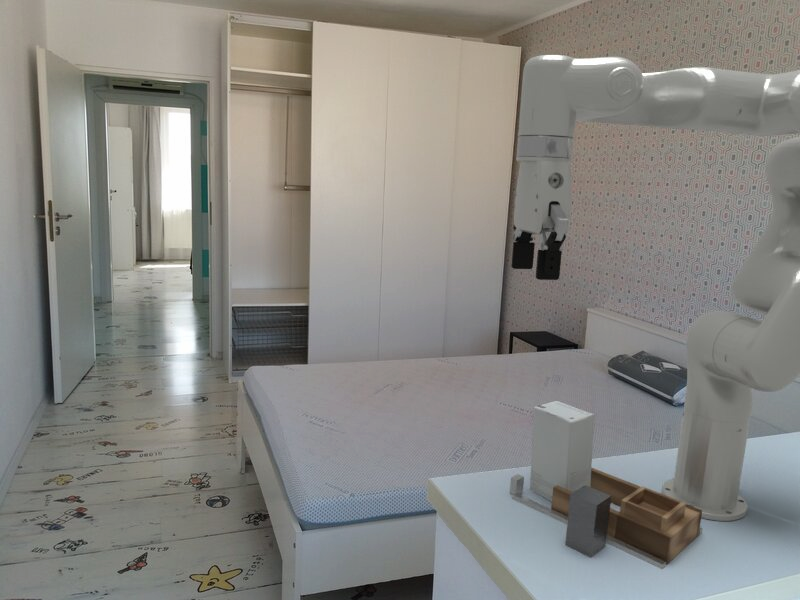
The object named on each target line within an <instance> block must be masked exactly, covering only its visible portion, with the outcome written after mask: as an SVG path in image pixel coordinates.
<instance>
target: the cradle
mask: <svg viewBox="0 0 800 600" xmlns="http://www.w3.org/2000/svg"><path fill="white" fill-rule="evenodd" d="M590 487H591V488H593V489H596V490H598V491H601V492H603V493H606V494H608V495H610V496H611V503H612V504H613V505H616V506H619V507H620V511H618V510H616V509H613V508H611V507H610V512H609V520H608V529H607V535H609V536H611V537H613V538H615V539H618V540H620V541H622V542H624V543H626V544H629V545H631V546H633V547H635V548H637V549H639V550H642V551H644V552H646V553H648V554H650V555H652V556H655V557H657V558H659V559H661V560H663V561H665V562H666V565H668V564H669V563H670V562H671V561H673V559H675V558H676V557H677V556H678V555H679V554H680V553H681V552H682V551H683V550H684V549H686V548H687V547H688V546H689V545H690V544H691V543H692V542H693V541H694V540H695V539H696V538H697V537H699V529H700V527H701V523H702V522H701V521H702V518H701V516H702V510H700V509H697V508H694V507H692V506H689V505H687V504H686V503H684V502H681V501H679V500H676V499H674V498H671V497H668V496H666V495H663V494H662V492H661V493H660V492H658V491H655V490H653V489H649V488H647V487H646V486H640V485H637V484H635V483H632V482H630V481H627V480H624V479H622V478H619V477H617V476H616V475H615V476H614V475H611V474H609V473H607V472H604V471H601V470H598V469H596V468H594V467H591V483H590ZM571 493H573V492H572V491H569V490H567V489H565V488H562V487H560V486H558V485H556V486H554V487H553V495H552V501H551V507H550V509H553V510H555V511H557V512H559V513H561V514H563V515H566V516H568V514H569V504H570V494H571ZM666 565H665V566H666Z"/></svg>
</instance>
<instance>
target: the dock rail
mask: <svg viewBox="0 0 800 600" xmlns="http://www.w3.org/2000/svg"><path fill="white" fill-rule="evenodd" d="M524 483H525V476H524V475H521V474H519V473H517V474H516V475H513V476H511V477H510V483H509V495H512V499H513V500H514V501H517V502H519V503H521V504H523V505H526V506H527V507H530V508H532V509H534V510H536V511H538V512H540V513H542V514H544V515H547V516H549V517H551V518H553V519H555V520H557V521H559V522H561V523H563V524H565V525H567V523H568V516H566V515H563V514H561V513H559V512H557V511H555V510H553V509H551V507H548V506H547V505H544V504H542V503H540V502H537V501H535V500H533V499H531V498H528V497H526V496H524V495H521V494H523V493H524ZM703 529H704V528H702V527H701V526H700V529H699V535H702V533H703ZM606 544H608V545H610V546H613V547H615V549H616V548H617V549H619V550H620V551H624V552H625V553H628V554H630V555H631V556H634V557H636V558H638V559H640V560H642V561H645V562H646V563H648V564H651V565H653V566H655V567H657V568H659V569H661V570H663V569H664V568H665V567H666V562H665V561H663V560H661V559H659V558H657V557H655V556H652V555H650V554H648V553H646V552H644V551H642V550H639V549H637V548H635V547H633V546H631V545H629V544H626V543H624V542H622V541H620V540H618V539H615V538H613V537H611V536H609V535H607V537H606Z"/></svg>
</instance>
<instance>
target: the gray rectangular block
mask: <svg viewBox="0 0 800 600" xmlns="http://www.w3.org/2000/svg"><path fill="white" fill-rule="evenodd" d="M611 503H612V502H611V496H610V495H608V494H606V493H603V492H601V491H598V490H596V489H593V488H591V487H589V486H586V485H585V486H583V487H581V488H580V489H578V490H576V491H575V492H573V493H571V494H570V504H569V514H568V523H567V524H566V536H565V546H567V547H568V548H571V549H572V550H575V551H577V552H579V553H580V554H582V555H584V556H586V557H588V558H593V557H594V556H595V555H597V554H598V553H600V552H601V551H602V550H604V549H605V548H606V545H607V543H606V537H607V529H608V520H609V512H610V508H611Z"/></svg>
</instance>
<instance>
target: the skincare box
mask: <svg viewBox="0 0 800 600" xmlns="http://www.w3.org/2000/svg"><path fill="white" fill-rule="evenodd" d="M532 410H533V411H532V413H533V414H532V436H531V459H530V461H531V462H530V476H529V477H530V480H529V481H530V483H529V489H530V491H533V492H534V493H536V494H537V495H540V496H541V497H543V498H545V499H547V500H548V501H550V502H552V495H553V487H554V486H556V485H558V486H560V487H562V488H565V489H567V490H569V491H572V492H575V491H576V490H578V489H580V488H581V487H583V486H585V485H586V486H589V487H590V483H591V468H592V467H593V466H592V462H593V459H592V458H593V448H594V447H593V446H594V444H593V443H594V428H595V427H594V426H595V413H591V412H589V411H585V410H583V409H580V408H577V407H574V406H572V405H570V404H566V403H563V402H561V401H559V400H555V401H551V402H547V403H544V404H541V405H537V406H536V405H535V406H534V407H533V409H532Z"/></svg>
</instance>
